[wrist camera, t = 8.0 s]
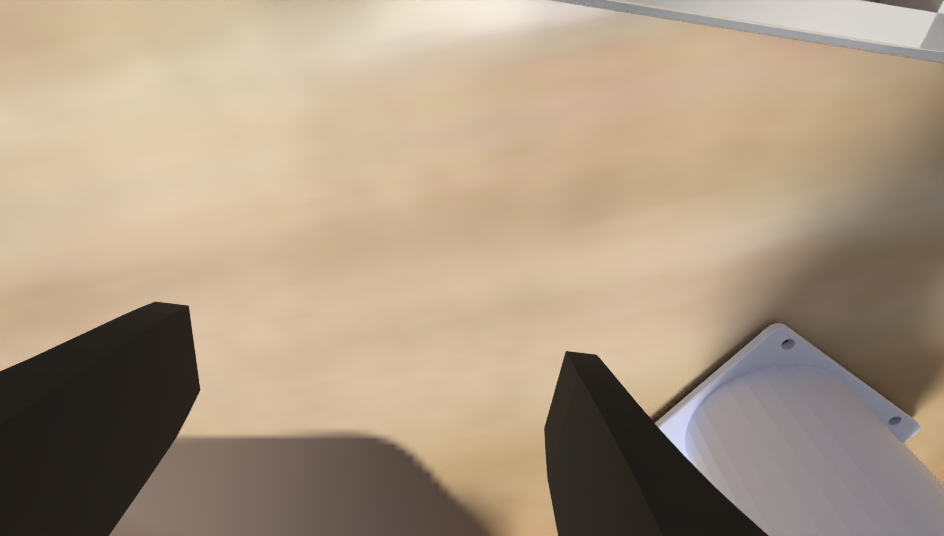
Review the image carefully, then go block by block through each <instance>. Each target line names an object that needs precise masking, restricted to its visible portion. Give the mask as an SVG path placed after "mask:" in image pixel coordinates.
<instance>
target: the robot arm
mask: <svg viewBox="0 0 944 536" xmlns="http://www.w3.org/2000/svg"><path fill="white" fill-rule="evenodd" d="M787 339H789V340H788V342H786V343H784V344H782V343H783V342H784V341H785V340H787ZM199 392H200V385H199V377H198V370H197V363H196V356H195V348H194V341H193V334H192V327H191V319H190V312H189V306H187V305H178V304H170V303H162V302H153V303H151V304H148V305H146V306H143V307H141V308H138V309H136V310H134V311H131V312H129V313H127V314H125V315H122V316H120V317H118V318H116V319H114V320H112V321H109V322H107V323H105V324H103V325H101V326H99V327H97V328H94V329H92V330H90V331H88V332H86V333H84V334H82V335H80V336H77V337H75V338H73V339H71V340H69V341H67V342H64V343H62V344H60V345H58V346H56V347H54V348H52V349H49V350H47V351H45V352H43V353H41V354H39V355H37V356H34V357H32V358H30V359H28V360H26V361H23V362H21V363H19V364H16V365H14V366H12V367H9V368H7V369H5V370H2V371H0V536H109V535H110V533H111V532H112V530H113V529H114V527H115V526H116V525H117V523H118V522H119V520H120V519H121V517H122V516H123V514H124V513H125V512H126V510H127V509H128V507H129V506H130V504H131V503H132V502H133V500H134V499H135V497H136V496H137V494H138V493H139V491H140V490H141V489H142V487H143V486H144V484H145V483H146V481H147V480H148V478H149V477H150V476H151V474H152V472H153V471H154V470H155V468H156V467H157V465H158V464H159V462H160V461H161V459H162V458H163V456H164V455H165V453H166V452H167V451H168V449H169V448H170V446H171V445H172V443H173V442H174V440H175V439H176V437H177V435H178V433H179V431H180V429H181V427H182V425H183V424H184V422H185V420H186V418H187V416H188V414H189V412H190V410H191V408H192V406H193V404H194V402H195V400H196V398H197V396H198V394H199ZM919 430H920V425H919V424H918V422H917V421H915V420H914V419H913V418H912V417H911V416H909V415H908V414H907V413H905V412H904V411H903V410H901V409H900V408H898V407H897V406H896V405H894V404H893V403H892V402H890V401H889V400H888V399H886V398H885V397H883V396H882V395H881V394H879V393H878V392H877V391H875V390H874V389H872V388H871V387H870V386H868V385H867V384H866V383H864V382H863V381H861V380H860V379H859V378H857V377H856V376H855V375H853V374H852V373H851V372H849V371H848V370H846V369H845V368H844V367H842V366H841V365H840V364H838V363H837V362H835V361H834V360H833V359H831V358H830V357H829V356H827V355H826V354H825V353H823V352H822V351H820V350H819V349H818V348H816V347H815V346H814V345H812V344H811V343H809V342H808V341H807V340H805V339H804V338H803V337H801V336H800V335H799V334H797V333H796V332H794V331H793V330H792V329H790V328H789V327H788V326H786V325H784V324H782V323H775V324H772V325H770V326H768V327H767V328H766V329H764V330H763V331H762V332H761V333H760V334H759V335H757V336H756V337H755V338H754V339H753V340H752V341H750V342H749V343H748V344H747V345H746V346H745V347H743V348H742V349H741V350H740V351H739V352H738V353H736V354H735V355H734V356H733V357H732V358H730V359H729V360H728V361H727V362H726V363H725V364H723V365H722V366H721V367H720V368H719V369H718V370H716V371H715V372H714V373H713V374H712V375H711V376H709V377H708V378H707V379H706V380H705V381H703V382H702V383H701V384H700V385H699V386H698V387H696V388H695V389H694V390H693V391H692V392H691V393H689V394H688V395H687V396H686V397H685V398H684V399H682V400H681V401H680V402H679V403H678V404H676V405H675V406H674V407H673V408H672V409H671V410H669V411H668V412H667V413H666V414H665V415H664V416H662V417H661V418H660V419H659V420H658V421H657V422H655V423H654V422H653V421H652V420H651V418H650V417H649V416H648V415H647V414H646V413H645V412H644V410H643V409H642V408H641V407H640V406H639V405H638V403H637V402H636V401H635V400H634V399H633V397H632V396H631V395H630V394H629V393H628V391H627V390H626V389H625V388H624V387H623V385H622V384H621V383H620V382H619V381H618V379H617V378H616V377H615V376H614V375H613V373H612V372H611V371H610V370H609V369H608V367H607V366H606V365H605V364H604V363H603V362H602V360H601V359H600V358H599V357H598V356H597V355H594V354H586V353H577V352H569V351H566V353H565V356H564V360H563V363H562V367H561V371H560V374H559V378H558V381H557V385H556V388H555V392H554V396H553V399H552V403H551V406H550V410H549V414H548V417H547V421H546V424H545V428H544V431H545V449H546V464H547V477H548V483H549V488H550V494H551V499H552V505H553V510H554V516H555V521H556V526H557V531H558V536H944V485H943V484H942V483H941V482H940V480H939V479H938V478H937V477H936V476H935V475H934V474H933V473H932V472H931V471H930V470H929V469H928V468H927V467H926V466H925V465H924V464H923V463H922V462H921V461H920V460H919V459H918V458H917V456H916V455H915V454H914V453H913V452H912V451H911V450H910V449H909V448H908V447H907V446H906V445H905V444H904V442H905V441H907V440H908V439H910V438H911V437H913V436H914V435H916V434H917V433H918V432H919Z"/></svg>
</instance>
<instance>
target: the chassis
mask: <svg viewBox="0 0 944 536" xmlns="http://www.w3.org/2000/svg"><path fill="white" fill-rule="evenodd" d="M552 1H558V2H565V3H571V4H577V5H583V6H590V7H596V8H602V9H608V10H615V11H621V12H627V13H633V14H640V15H646V16H652V17H658V18H665V19H671V20H677V21H683V22H690V23H696V24H702V25H708V26H715V27H721V28H727V29H733V30H740V31H746V32H752V33H758V34H765V35H771V36H777V37H783V38H790V39H796V40H802V41H808V42H815V43H821V44H827V45H833V46H840V47H846V48H852V49H858V50H865V51H871V52H877V53H883V54H890V55H896V56H902V57H908V58H915V59H921V60H927V61H933V62H940V63H944V0H552Z"/></svg>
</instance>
